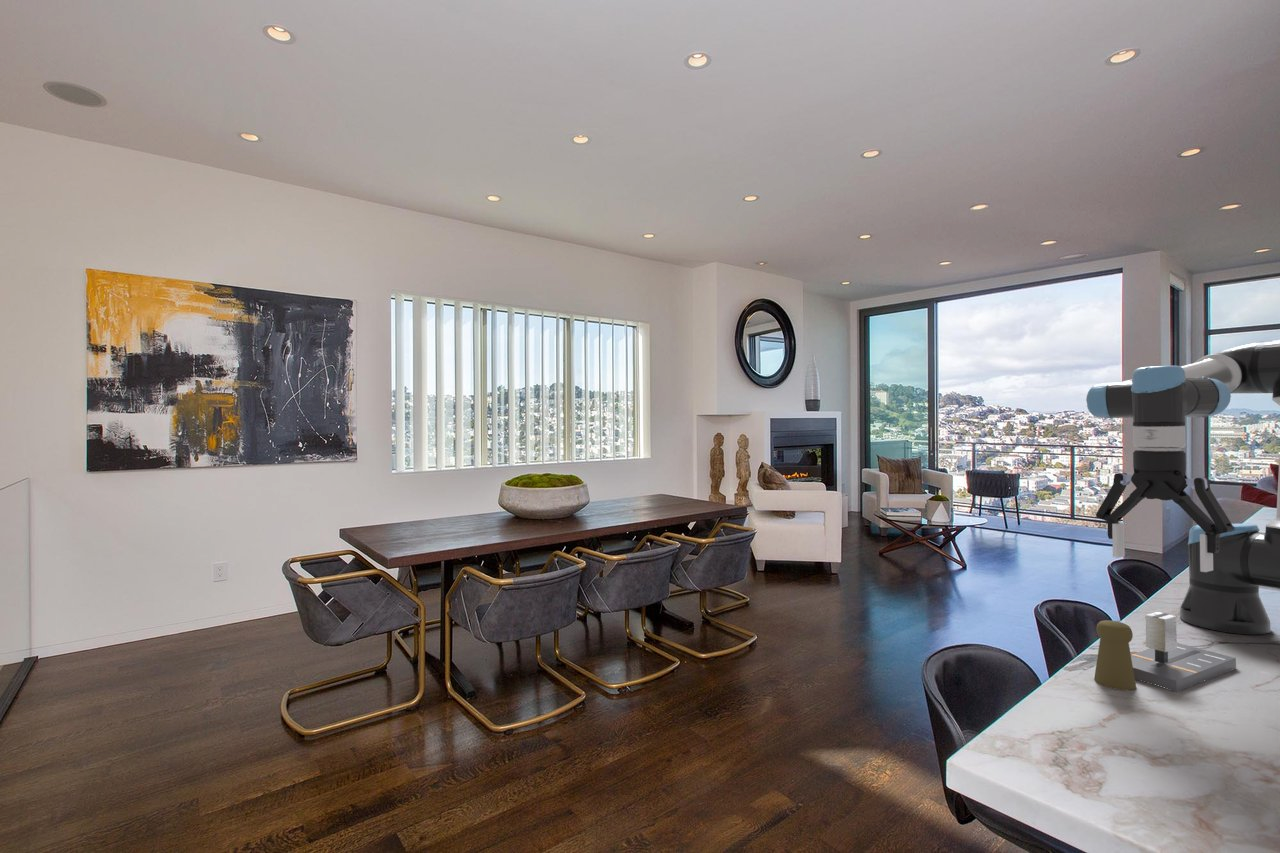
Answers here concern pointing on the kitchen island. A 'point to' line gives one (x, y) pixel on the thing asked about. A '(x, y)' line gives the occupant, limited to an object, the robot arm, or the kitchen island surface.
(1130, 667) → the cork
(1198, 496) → the robot arm
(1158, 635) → the fader knob
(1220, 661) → the fader console
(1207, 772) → the kitchen island surface
